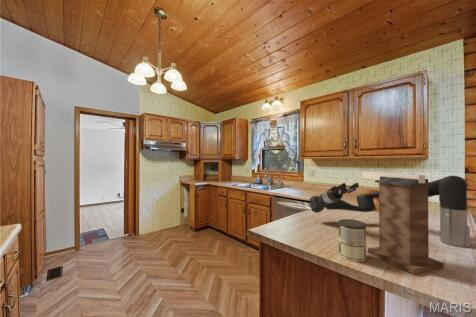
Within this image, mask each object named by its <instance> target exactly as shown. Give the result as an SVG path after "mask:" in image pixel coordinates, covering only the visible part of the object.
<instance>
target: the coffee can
mask: <svg viewBox="0 0 476 317" xmlns="http://www.w3.org/2000/svg"><path fill="white" fill-rule="evenodd" d="M338 255H339V256H340V257H341V258H342V259H345V260H348V261H351V262H359V263H361V262H365V261H367V223H366V222H363V221H362V220H361V221H360V220H356V219H345V218H344V219H339V220H338Z"/></svg>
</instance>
